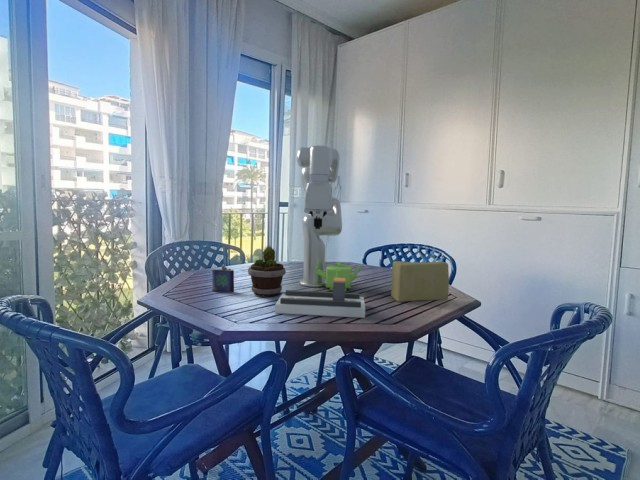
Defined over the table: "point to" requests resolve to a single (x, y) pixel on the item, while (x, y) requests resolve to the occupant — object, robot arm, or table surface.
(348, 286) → the kettle
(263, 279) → the flowerpot
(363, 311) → the breaker panel
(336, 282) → the block
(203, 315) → the table surface
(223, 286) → the flask
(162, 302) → the table surface
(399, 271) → the cheese
